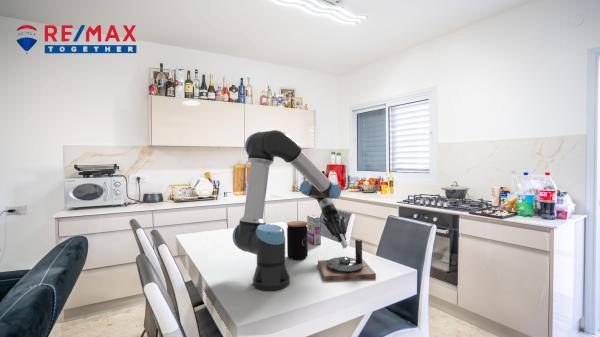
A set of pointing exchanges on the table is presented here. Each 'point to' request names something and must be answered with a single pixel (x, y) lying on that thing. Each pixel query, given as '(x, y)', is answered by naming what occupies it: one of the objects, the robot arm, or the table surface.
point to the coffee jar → (297, 240)
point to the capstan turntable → (348, 261)
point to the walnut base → (334, 275)
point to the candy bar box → (314, 229)
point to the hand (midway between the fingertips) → (345, 246)
